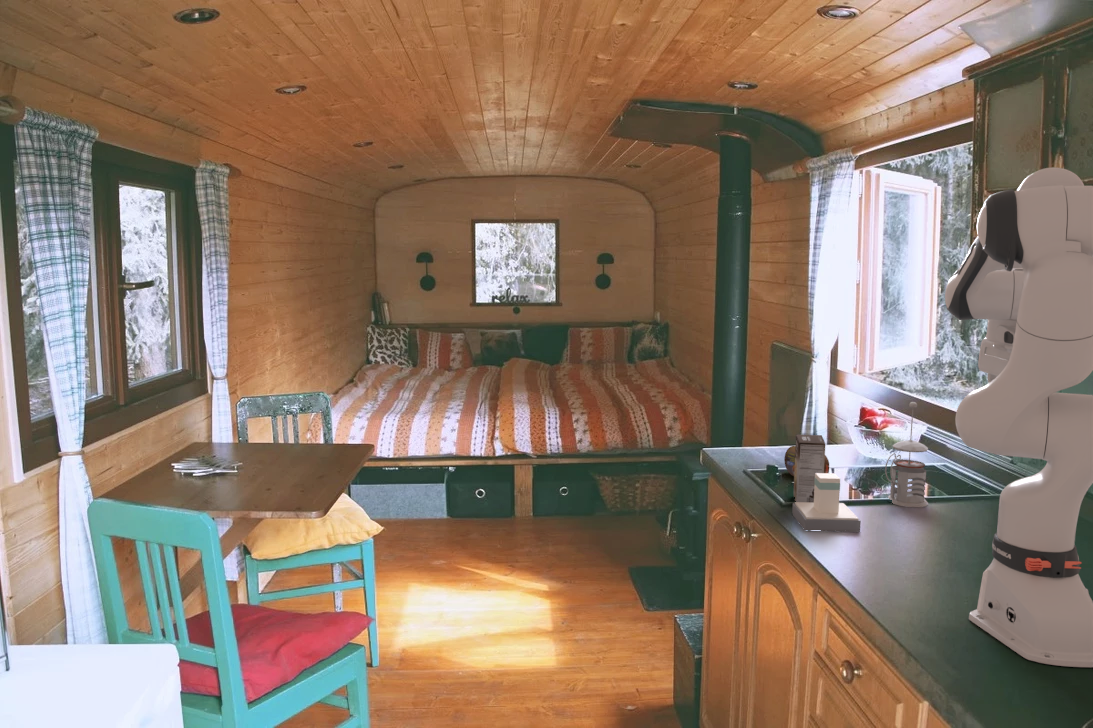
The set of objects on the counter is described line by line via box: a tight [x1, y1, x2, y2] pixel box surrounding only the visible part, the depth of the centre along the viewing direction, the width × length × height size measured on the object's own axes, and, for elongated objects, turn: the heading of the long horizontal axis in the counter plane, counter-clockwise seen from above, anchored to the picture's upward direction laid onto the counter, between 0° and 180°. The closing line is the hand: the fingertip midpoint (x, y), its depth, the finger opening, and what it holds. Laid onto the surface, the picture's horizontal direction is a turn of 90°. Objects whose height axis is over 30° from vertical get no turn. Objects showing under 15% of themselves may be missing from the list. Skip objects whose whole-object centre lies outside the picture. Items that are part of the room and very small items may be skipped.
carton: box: [814, 472, 841, 513], centre depth 188 cm, size 4×4×8 cm
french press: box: [884, 401, 929, 508], centre depth 204 cm, size 10×12×25 cm
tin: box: [784, 445, 830, 477], centre depth 226 cm, size 15×3×8 cm, turn 25°
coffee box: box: [793, 434, 826, 502], centre depth 204 cm, size 9×6×16 cm
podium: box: [791, 501, 862, 533], centre depth 189 cm, size 12×12×3 cm
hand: (1005, 399), depth 171 cm, fingers open, 8 cm apart
